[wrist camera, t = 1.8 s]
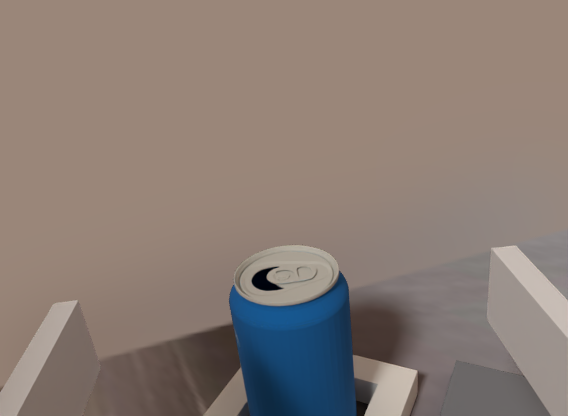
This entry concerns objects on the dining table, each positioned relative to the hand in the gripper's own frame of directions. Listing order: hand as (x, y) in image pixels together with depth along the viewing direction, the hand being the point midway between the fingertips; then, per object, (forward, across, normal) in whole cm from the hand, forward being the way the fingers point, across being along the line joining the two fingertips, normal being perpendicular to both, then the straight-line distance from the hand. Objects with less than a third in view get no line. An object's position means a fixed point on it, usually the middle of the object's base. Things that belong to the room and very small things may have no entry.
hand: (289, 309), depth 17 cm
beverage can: (+10, 0, -17) cm, 20 cm away
